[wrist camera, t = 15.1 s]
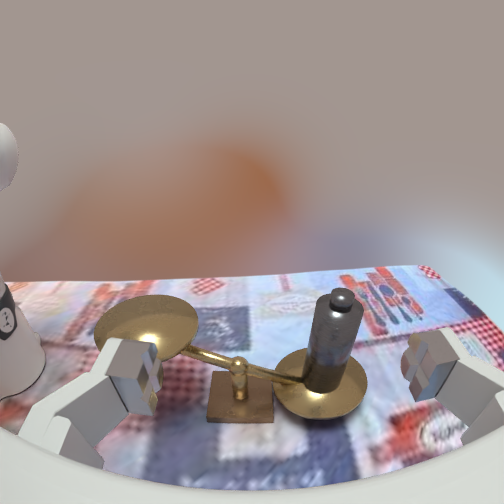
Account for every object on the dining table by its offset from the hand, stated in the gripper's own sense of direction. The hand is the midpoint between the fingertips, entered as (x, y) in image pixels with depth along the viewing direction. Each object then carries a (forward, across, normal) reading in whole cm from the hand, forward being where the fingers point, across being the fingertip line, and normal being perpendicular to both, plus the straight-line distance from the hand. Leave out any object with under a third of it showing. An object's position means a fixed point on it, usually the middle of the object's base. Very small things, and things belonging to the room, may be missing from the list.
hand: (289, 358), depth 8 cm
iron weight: (+17, -7, +22) cm, 28 cm away
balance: (+17, +3, +25) cm, 31 cm away
